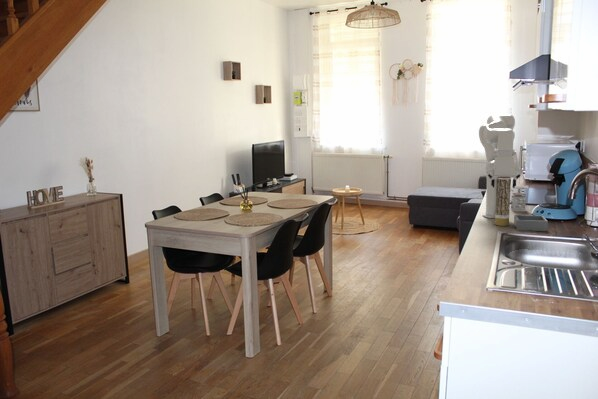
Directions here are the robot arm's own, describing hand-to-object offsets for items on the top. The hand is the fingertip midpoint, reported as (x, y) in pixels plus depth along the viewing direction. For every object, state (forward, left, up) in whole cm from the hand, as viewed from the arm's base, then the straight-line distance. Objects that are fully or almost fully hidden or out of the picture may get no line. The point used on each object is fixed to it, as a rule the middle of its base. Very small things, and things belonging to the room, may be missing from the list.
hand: (503, 187), depth 253 cm
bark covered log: (0, 0, -20) cm, 20 cm away
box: (+3, +13, -20) cm, 24 cm away
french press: (-45, +12, -20) cm, 51 cm away
